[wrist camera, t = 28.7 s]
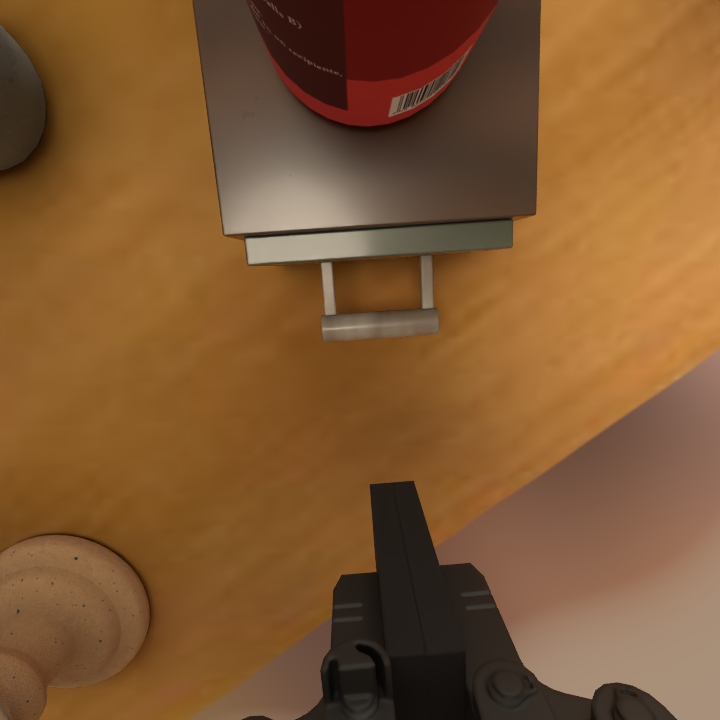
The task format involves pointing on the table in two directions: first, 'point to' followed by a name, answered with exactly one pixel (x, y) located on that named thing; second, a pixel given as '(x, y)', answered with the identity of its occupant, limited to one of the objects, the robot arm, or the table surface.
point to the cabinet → (370, 137)
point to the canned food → (369, 52)
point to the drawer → (379, 246)
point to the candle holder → (64, 619)
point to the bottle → (18, 103)
